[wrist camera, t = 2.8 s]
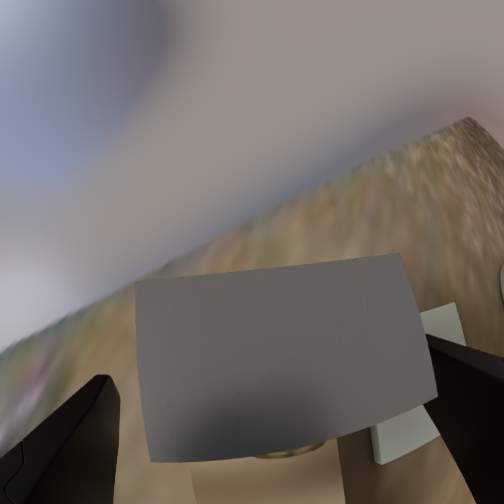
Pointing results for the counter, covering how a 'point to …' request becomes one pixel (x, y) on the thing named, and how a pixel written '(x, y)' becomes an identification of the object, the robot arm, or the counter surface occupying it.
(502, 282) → the travel mug
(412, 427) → the sage mat
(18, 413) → the counter surface
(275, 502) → the body
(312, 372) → the lever cap
